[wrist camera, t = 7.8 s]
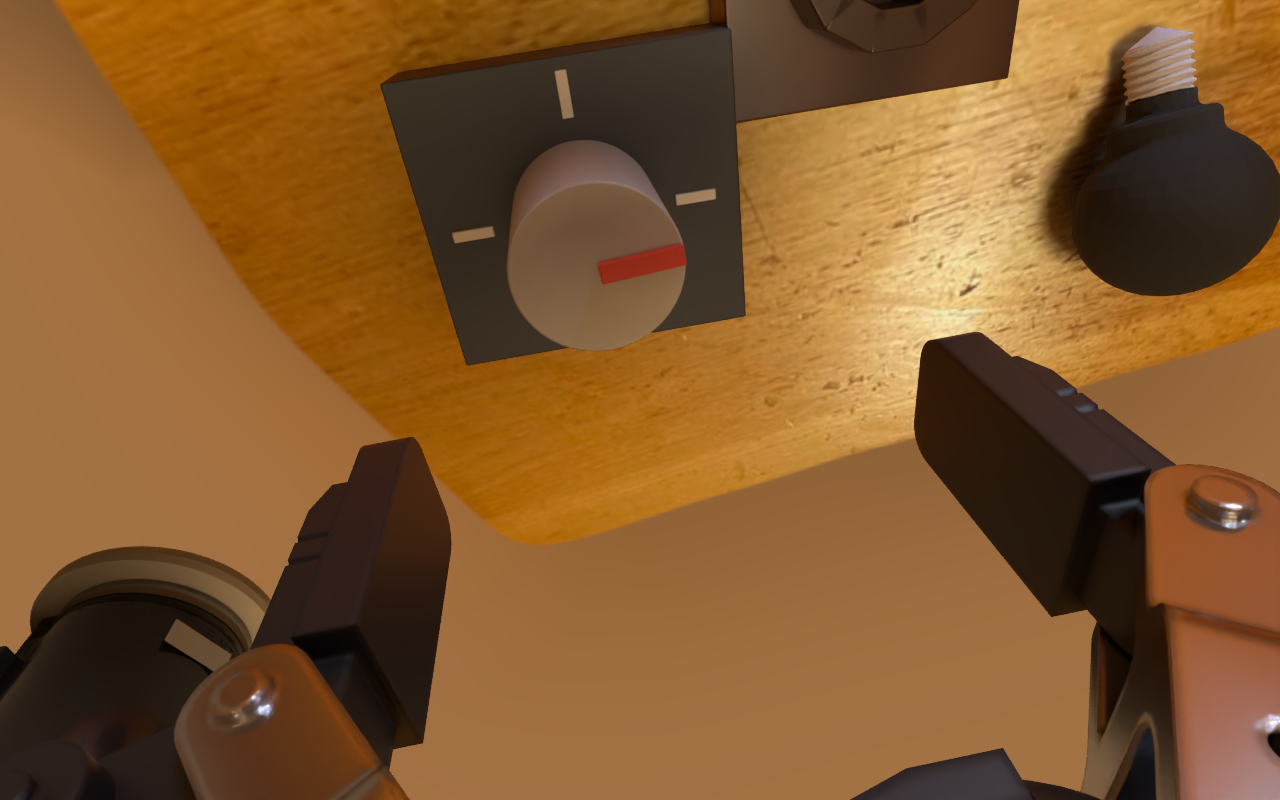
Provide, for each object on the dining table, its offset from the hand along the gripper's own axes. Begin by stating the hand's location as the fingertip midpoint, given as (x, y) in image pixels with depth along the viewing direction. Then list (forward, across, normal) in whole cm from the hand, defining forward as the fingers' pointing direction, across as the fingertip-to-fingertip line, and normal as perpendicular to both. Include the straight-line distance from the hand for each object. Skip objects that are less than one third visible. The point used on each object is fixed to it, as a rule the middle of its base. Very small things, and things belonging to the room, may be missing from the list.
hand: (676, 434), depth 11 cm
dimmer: (+15, +1, +1) cm, 15 cm away
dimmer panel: (+18, +1, +1) cm, 18 cm away
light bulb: (+18, -21, +4) cm, 28 cm away
